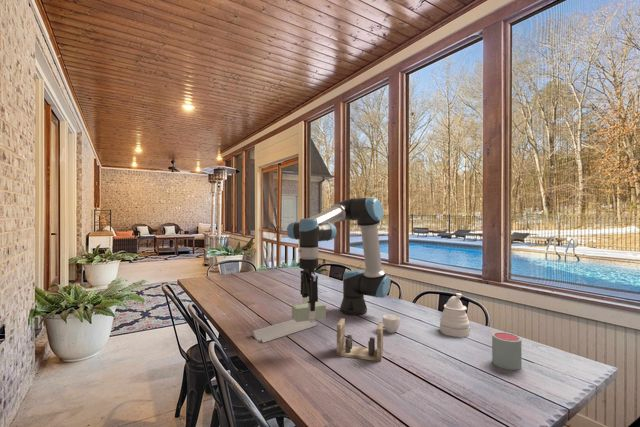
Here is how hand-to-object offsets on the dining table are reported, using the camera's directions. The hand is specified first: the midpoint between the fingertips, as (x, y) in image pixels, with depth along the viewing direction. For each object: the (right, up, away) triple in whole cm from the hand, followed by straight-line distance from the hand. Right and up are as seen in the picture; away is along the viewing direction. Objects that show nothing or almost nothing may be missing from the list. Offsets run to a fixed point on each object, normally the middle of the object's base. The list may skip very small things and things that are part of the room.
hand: (308, 316), depth 124 cm
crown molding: (-13, -16, +25) cm, 32 cm away
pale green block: (0, -1, 0) cm, 1 cm away
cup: (+39, -15, +25) cm, 48 cm away
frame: (+20, -15, 0) cm, 25 cm away
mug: (+74, -15, -6) cm, 76 cm away
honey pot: (+68, -15, +24) cm, 73 cm away
